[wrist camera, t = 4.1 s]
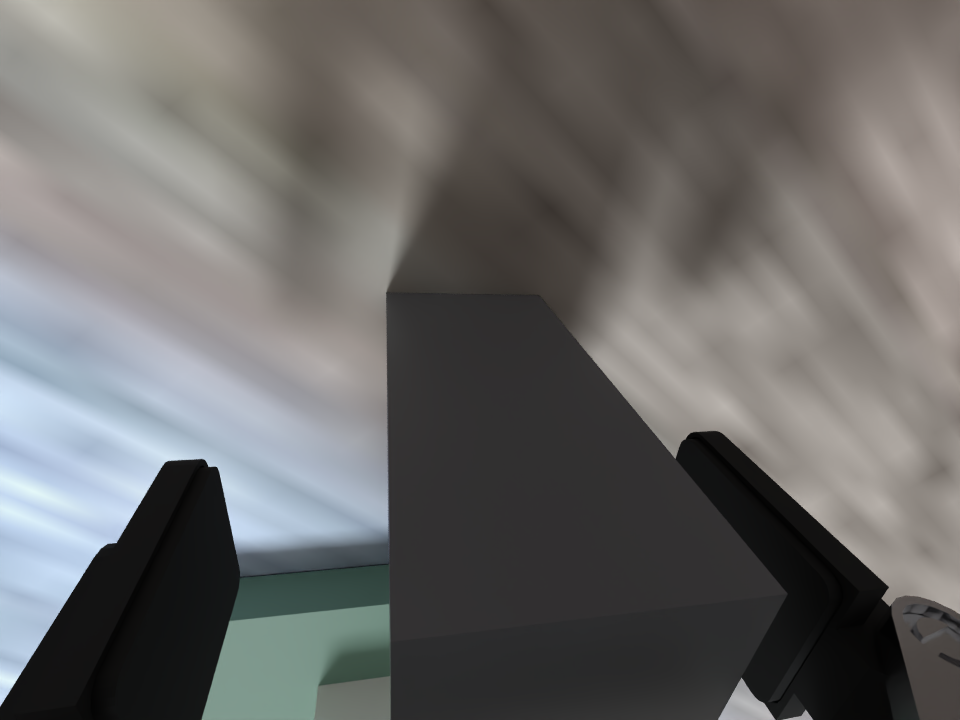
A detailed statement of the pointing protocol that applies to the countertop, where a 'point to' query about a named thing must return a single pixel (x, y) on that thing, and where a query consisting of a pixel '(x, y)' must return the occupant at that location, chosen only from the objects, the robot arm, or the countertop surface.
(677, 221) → the countertop surface
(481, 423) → the plug
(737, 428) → the countertop surface
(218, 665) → the board
